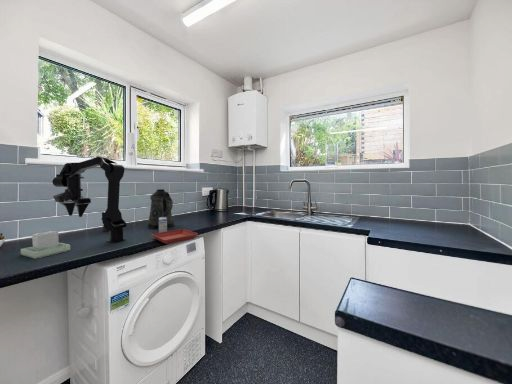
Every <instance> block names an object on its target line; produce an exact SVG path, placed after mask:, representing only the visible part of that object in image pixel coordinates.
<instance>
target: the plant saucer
mask: <svg viewBox="0 0 512 384" xmlns="http://www.w3.org/2000/svg"><path fill="white" fill-rule="evenodd" d="M198 234H199V233H198V232H195V231H191V230H188V229H185V228H179V229H174V230H173V229H171V230H167V231H166V232H160V233H159V232H155V233H151V236H152V237H153V238H154V239H155V240H157V241H159V242H161V243H163V244H165V245H170V244H176V243H179V242H180V243H181V242H185V241H189V240H194V239H195V238H196V236H198Z"/></svg>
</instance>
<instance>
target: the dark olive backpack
mask: <svg viewBox="0 0 512 384" xmlns="http://www.w3.org/2000/svg"><path fill="white" fill-rule="evenodd" d="M149 198H150V199H149V200H150V201H151V202H150V211H149V216H148V219H147V223H146V224H147V227H148V229H152V230H159V218H160V217H166V218H167V229H169V228H173V226H174V224H175V223H174V222H175V220H174V217H173V215H172V209H173V205H174V202H173V199H172V198H171V196H170V193H169V192H167V191H165V189H162V188H160V189H156V191H155V192H154V193H152V194H151V195H150V196H149Z"/></svg>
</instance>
